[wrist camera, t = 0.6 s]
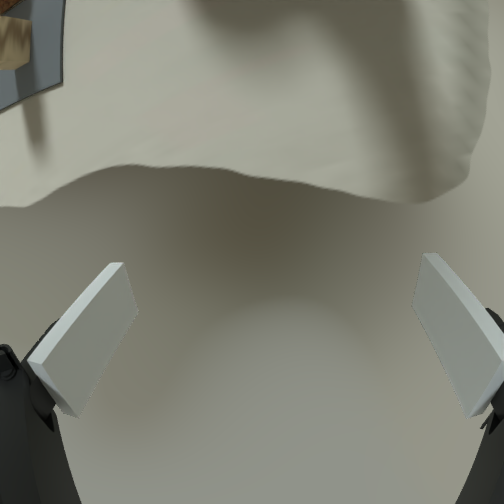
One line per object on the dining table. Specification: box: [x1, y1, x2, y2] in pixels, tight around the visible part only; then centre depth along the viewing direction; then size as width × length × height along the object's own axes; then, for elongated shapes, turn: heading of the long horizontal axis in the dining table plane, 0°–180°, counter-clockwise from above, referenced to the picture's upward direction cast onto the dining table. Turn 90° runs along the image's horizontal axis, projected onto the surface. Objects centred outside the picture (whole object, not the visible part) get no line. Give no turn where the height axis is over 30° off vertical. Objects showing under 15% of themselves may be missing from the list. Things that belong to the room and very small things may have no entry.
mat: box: [0, 0, 65, 110], centre depth 30 cm, size 20×28×1 cm
